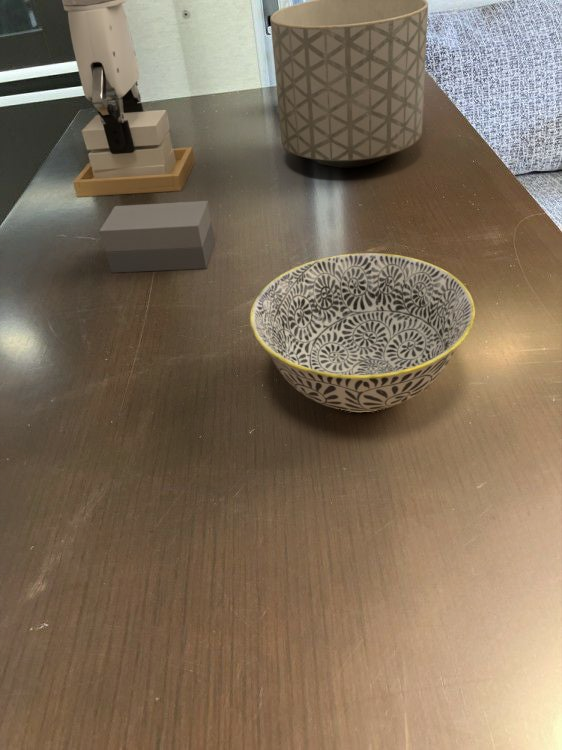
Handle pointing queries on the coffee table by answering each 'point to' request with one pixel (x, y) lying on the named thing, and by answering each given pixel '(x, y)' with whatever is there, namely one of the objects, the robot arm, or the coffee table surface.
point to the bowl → (362, 327)
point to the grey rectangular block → (158, 237)
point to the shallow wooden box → (137, 179)
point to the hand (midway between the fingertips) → (129, 141)
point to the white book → (142, 127)
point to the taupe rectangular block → (134, 161)
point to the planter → (350, 78)
